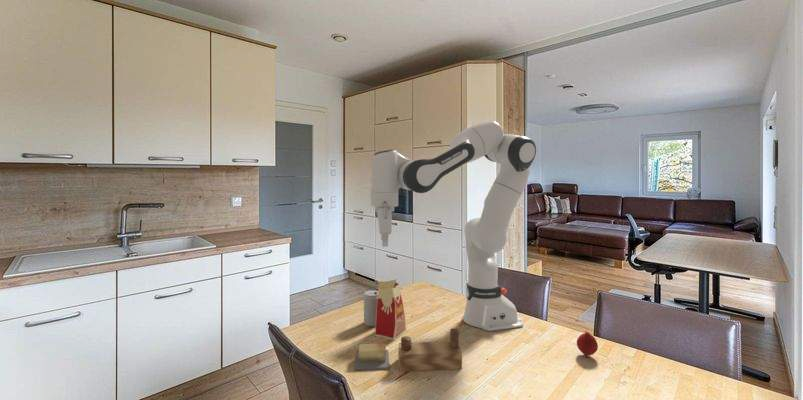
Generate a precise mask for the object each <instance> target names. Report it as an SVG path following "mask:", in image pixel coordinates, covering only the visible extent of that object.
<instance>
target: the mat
mask: <svg viewBox="0 0 803 400" xmlns="http://www.w3.org/2000/svg"><path fill="white" fill-rule="evenodd" d="M355 354H356V355H355V364H354V371H371V370H372V371H373V370H375V371H377V370H390V369H391V366H390V358H389V349H386V362H370V363H359V350H356V353H355Z"/></svg>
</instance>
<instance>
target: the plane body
mask: <svg viewBox="0 0 803 400" xmlns="http://www.w3.org/2000/svg"><path fill="white" fill-rule="evenodd" d="M449 330H450V333H449V336H450V337H449V340H448V341H420V342H419V341H417V342H412V337H410V336H409V335H408V336H402V337H401V339H400V342H398V365H399V371H400V372H420V371H442V370H443V371H446V370H448V371H449V370H462V367H463V351H462V350H461V347H460V345H459V343H460V341H459V340H460V339H459V338H460V337H459V336H460V335H459V334H460V331H459V330H458V328H450V329H449Z"/></svg>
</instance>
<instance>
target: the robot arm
mask: <svg viewBox="0 0 803 400" xmlns="http://www.w3.org/2000/svg"><path fill="white" fill-rule="evenodd" d="M503 129H504V128H502V126H501V125H500V124H499V123H498V122H496V121H495V120H487V121H484V122H481V123H477V124H475V125H472V126H470V127H468V128H465V129H464V130H462V131H460V132H459V133H457V134H456V135H455V136H453V137H452V138H451V141H450V148H449V149H447V150H446V151H444V152H442V153H440V154H438V155H437V156H434V157H433V158H427V159H425V158H424V159H416V160H412V159H410V158H408V157H406V156H405V155H402V154H400V153H399V152H398V151H397V150H396V149H386V150H380V151H377V152H375V153H374V154H373V156H372V158H371V164H370V165H371V166H370V180H371V188H370V206H371V207H374V211H375V212H376V215H377V221H378V230H379V234H380V235H381V236H380V237H381V246H382V247H383V248H384V247H385V248H387V247H388V246H389V238H390V237H389V234H392V231H393V230H392V229H393V225H392V222H393V221H392V220H393V219H392V218H393V216H392V213H393V212H395V207H399V189H403V190H407V191H412V192H414V193H418V194H424V193H428V192H430V191H431V190H433V188H435V186H436V185H437V184H438V183H439V182H440V180H442V178H443V177H444V176H446V175H448V174H449V173H451V172H453V171H455V170H456V169H458V168H460V167H461V166H463V165H465V164H468V163H472V162H474V161H477V160H478V159H480V158H482V157H485V159H487V161H491V162H492V163H493V162H494V163H496V164H500V170H499V172H498V174H497V175H496V178H495V179H494V182H493V183H492V184H491V187H490V189H489V190H488V192H487V195H486V197H485V199H484V202H483V208H482V211H481V216H480V217H477V218H476V217H475V218H472V219H469V220H468V221H467V222H466V223H465V226H464V237H465V248H466V249H465V250H466V255H467V256H466V257H467V283H466V288H465V296H466V303H465V308H464V309H465V310H464V312H463V315H462V320H463V322H464V323H466V324H467V325H469V326H472V327H475V328H479V329H482V330H484V331H487V332H492V331H493V332H494V331H499V330H507V329H515V328H522V327H524V320H523V318H522V317H521V316H520V315H519V314H518V311H517V307H516V306H515V304H514V303H513V302H512V301H510V300H509V298H507V297H506V296H505V295H506V294H507V289H506V288H505V287H502V286H501V285H500V284H498V277H499V276H498V274H499V271H498V269H499V265H498V262H497V259H496V253H499V252H501V251H502V250H503V249H504V248H505V246H506V243H507V232H508V227H509V224H510V221H511V218H512V215H513V213H514V210H515V208H516V206H517V204H518V202H519V200H520V198H521V197H522V194H523V192H524V190H525V188H526V185H527V182H528V179H529V176H530V169H529V168H530V167H531V165H532V163H533V161H534V160H535V157H536V154H537V146H536V144H535V142H534V140H532V139H531V138H529V137H527V136H524V135H521V136H520V135H517V134H512V133H511V134H510V133H507V134H506V133H504V130H503Z"/></svg>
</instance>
